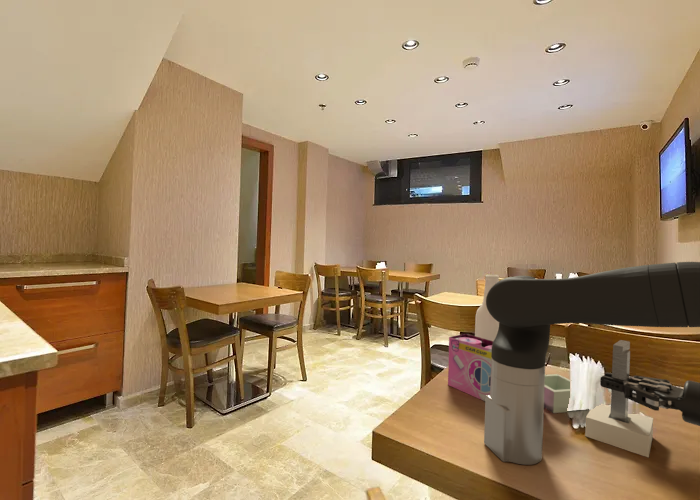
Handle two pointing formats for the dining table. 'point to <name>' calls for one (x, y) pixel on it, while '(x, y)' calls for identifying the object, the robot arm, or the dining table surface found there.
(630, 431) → the key block
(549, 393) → the bin
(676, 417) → the dining table surface
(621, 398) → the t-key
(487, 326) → the alcohol
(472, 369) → the gum box
